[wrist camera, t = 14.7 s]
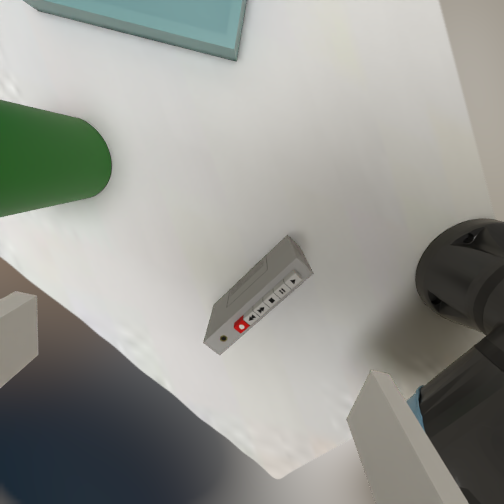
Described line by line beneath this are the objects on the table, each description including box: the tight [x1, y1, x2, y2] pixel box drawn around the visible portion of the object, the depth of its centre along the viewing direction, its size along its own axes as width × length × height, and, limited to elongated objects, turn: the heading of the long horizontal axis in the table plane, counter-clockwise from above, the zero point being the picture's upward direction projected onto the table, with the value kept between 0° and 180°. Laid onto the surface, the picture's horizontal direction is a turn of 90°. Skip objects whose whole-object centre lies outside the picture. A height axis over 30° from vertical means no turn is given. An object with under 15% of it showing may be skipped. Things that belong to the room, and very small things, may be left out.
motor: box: [0, 100, 111, 217], centre depth 25 cm, size 10×9×20 cm
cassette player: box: [203, 235, 313, 355], centre depth 35 cm, size 16×3×10 cm, turn 136°
